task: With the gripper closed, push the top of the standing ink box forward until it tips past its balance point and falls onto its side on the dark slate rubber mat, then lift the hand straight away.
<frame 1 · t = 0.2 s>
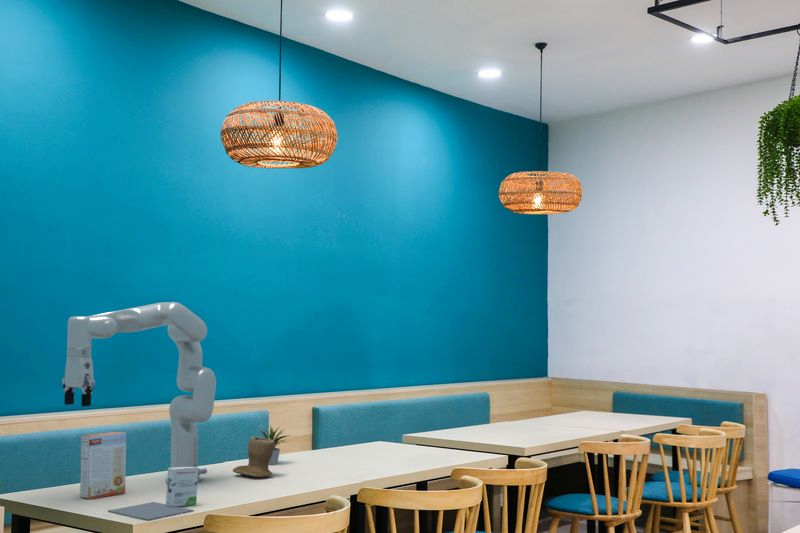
hand: (77, 405, 285), 31 cm above the table, tool pointing down, fingers open, 9 cm apart
cracker box: (102, 496, 291), on the table
ink box: (180, 505, 275), on the table, touching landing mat
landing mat: (150, 511, 266), on the table
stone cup: (255, 476, 331), on the table
house plant: (270, 465, 359), on the table
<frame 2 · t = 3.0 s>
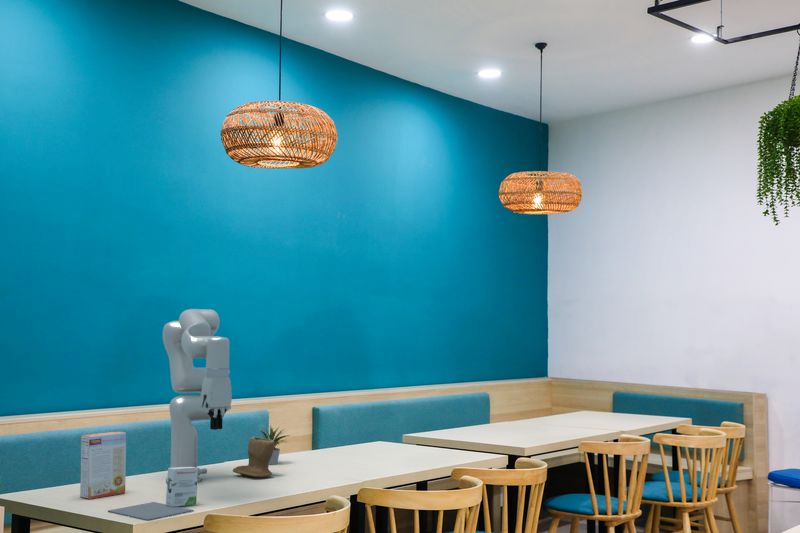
hand: (216, 428, 288), 23 cm above the table, tool pointing down, fingers closed
nothing on the table moved.
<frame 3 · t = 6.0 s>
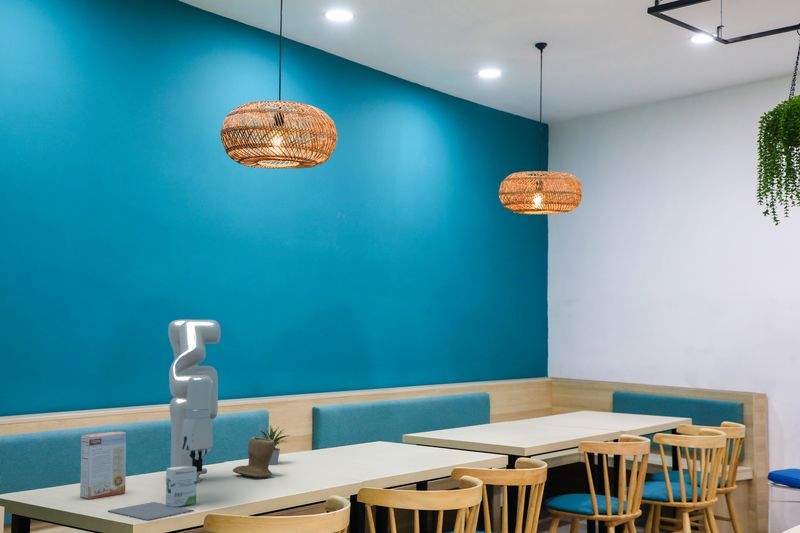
hand: (197, 471, 281), 10 cm above the table, tool pointing down, fingers closed
ink box: (180, 504, 276), on the table, touching gripper, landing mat
everything else where it was.
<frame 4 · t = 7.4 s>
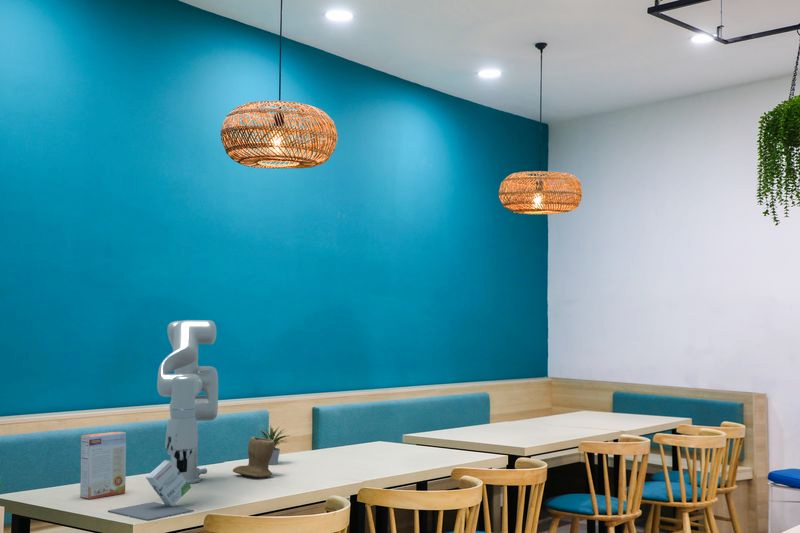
hand: (181, 471, 276), 11 cm above the table, tool pointing down, fingers closed
ink box: (178, 497, 275), point 3 cm above the table, touching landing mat
everything else where it was.
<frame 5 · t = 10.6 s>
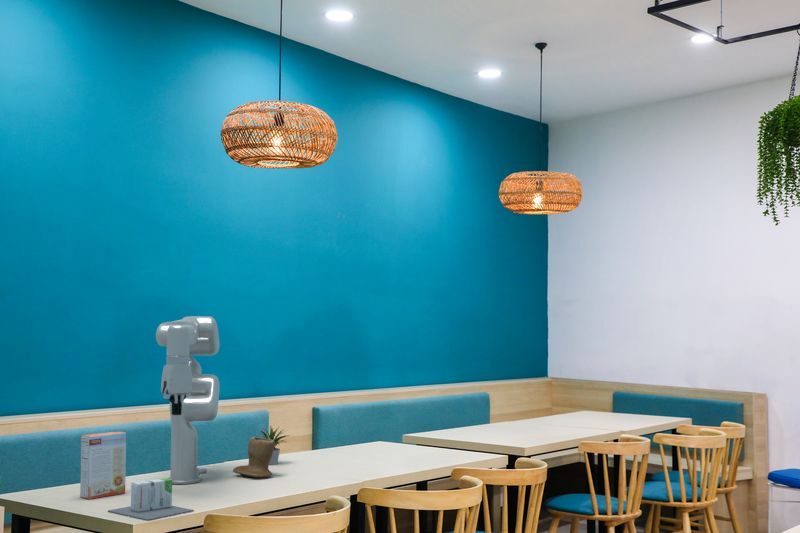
hand: (176, 414, 295), 27 cm above the table, tool pointing down, fingers closed
ink box: (169, 492, 273), point 5 cm above the table, touching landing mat
everything else where it was.
at the end: ink box tilted 90°; ink box inside the target area (2.6 cm from its centre), point 4.7 cm above the table; the gripper is holding nothing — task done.
